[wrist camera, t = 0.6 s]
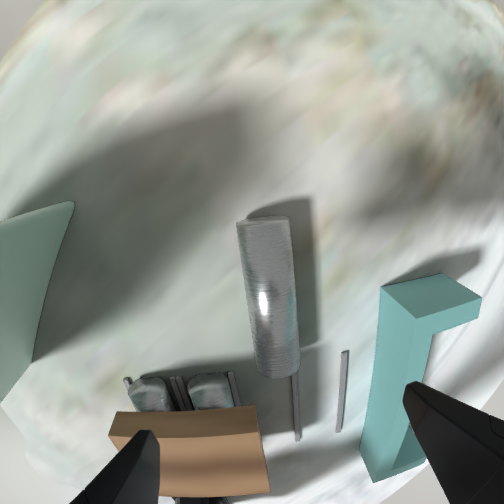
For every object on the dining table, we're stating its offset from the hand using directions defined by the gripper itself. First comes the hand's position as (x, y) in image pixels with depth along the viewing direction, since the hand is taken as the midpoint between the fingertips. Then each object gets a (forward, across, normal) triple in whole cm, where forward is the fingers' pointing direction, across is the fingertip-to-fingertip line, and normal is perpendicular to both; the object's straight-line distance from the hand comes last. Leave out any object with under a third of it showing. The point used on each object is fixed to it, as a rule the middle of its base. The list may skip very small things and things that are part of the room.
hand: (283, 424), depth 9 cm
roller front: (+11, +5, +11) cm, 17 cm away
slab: (+8, +6, +11) cm, 15 cm away
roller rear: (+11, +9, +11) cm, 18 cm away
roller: (+12, -1, 0) cm, 12 cm away
